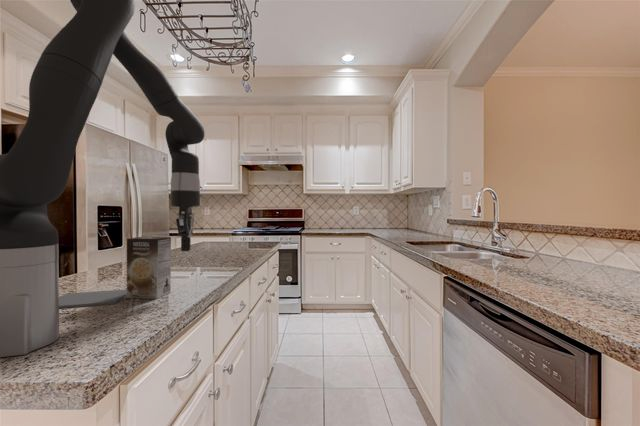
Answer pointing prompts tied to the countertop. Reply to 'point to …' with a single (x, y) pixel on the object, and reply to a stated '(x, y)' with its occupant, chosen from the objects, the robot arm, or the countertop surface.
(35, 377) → the countertop surface
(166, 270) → the coffee box
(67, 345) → the countertop surface
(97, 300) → the mat
